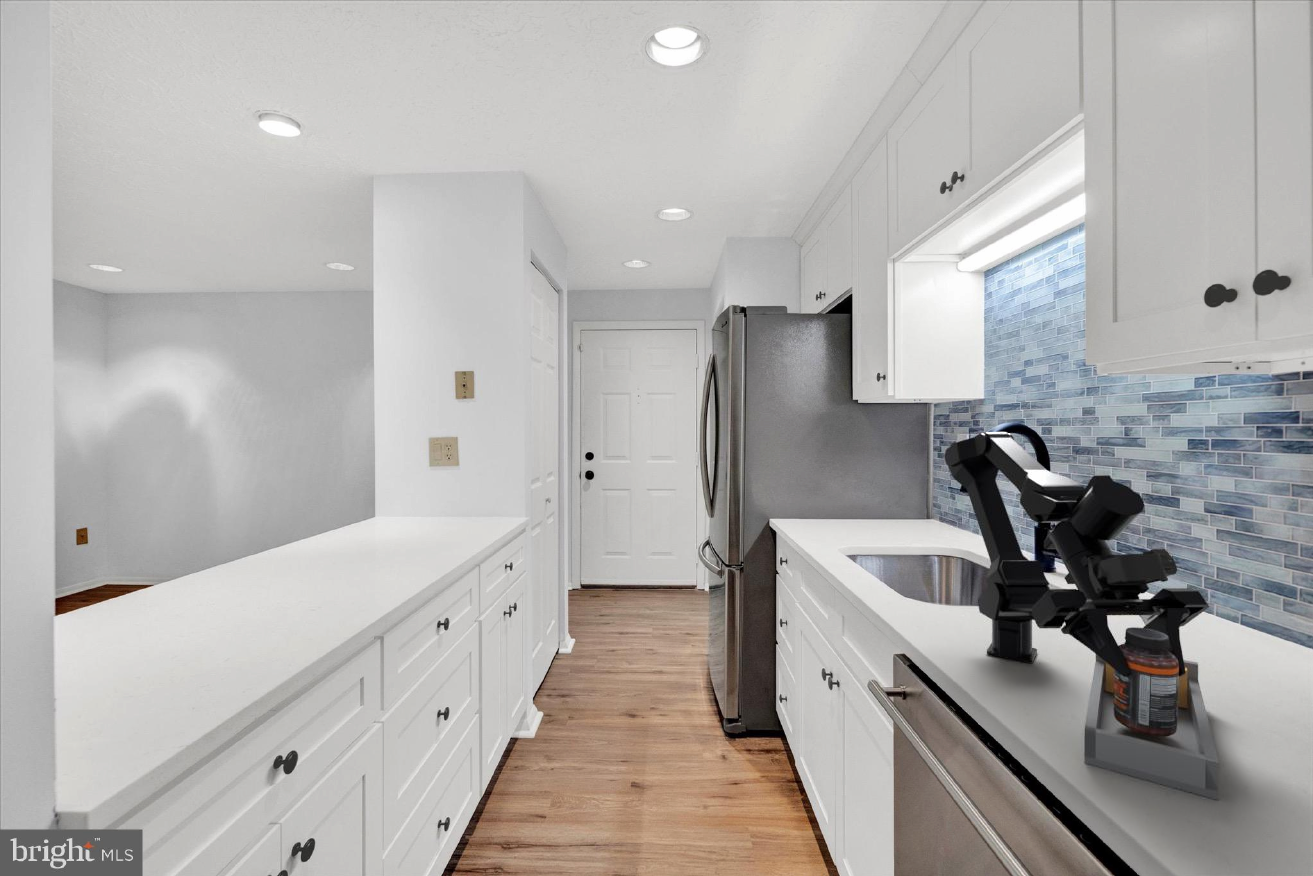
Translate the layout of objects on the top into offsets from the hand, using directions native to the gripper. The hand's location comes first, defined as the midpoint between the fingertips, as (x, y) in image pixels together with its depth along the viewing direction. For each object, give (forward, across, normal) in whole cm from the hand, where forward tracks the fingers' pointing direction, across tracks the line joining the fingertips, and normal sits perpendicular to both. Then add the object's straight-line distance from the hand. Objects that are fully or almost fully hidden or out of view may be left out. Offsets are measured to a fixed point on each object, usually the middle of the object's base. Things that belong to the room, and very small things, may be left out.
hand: (1154, 675), depth 70 cm
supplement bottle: (+4, 0, +6) cm, 7 cm away
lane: (+4, +2, +8) cm, 9 cm away
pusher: (-3, +8, +13) cm, 16 cm away
